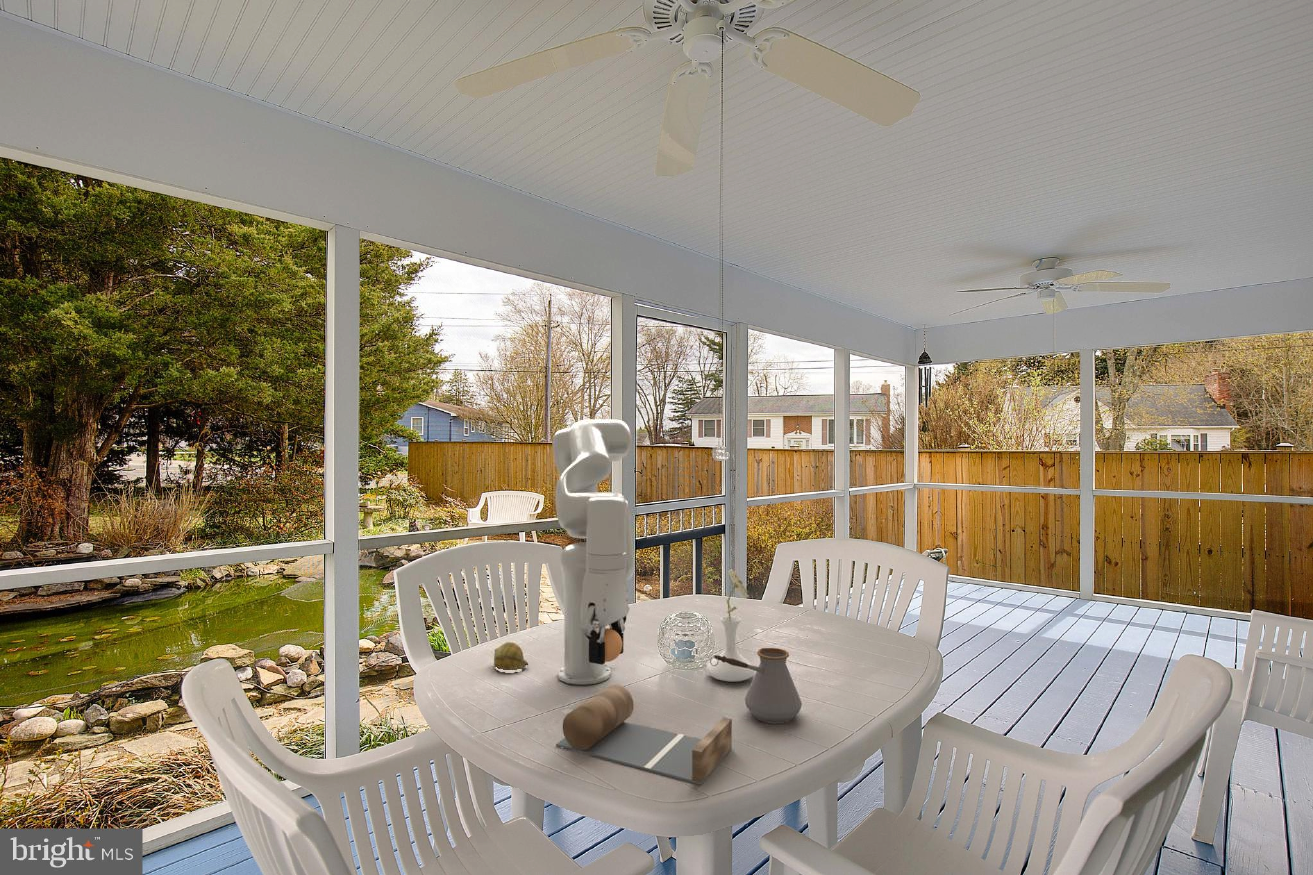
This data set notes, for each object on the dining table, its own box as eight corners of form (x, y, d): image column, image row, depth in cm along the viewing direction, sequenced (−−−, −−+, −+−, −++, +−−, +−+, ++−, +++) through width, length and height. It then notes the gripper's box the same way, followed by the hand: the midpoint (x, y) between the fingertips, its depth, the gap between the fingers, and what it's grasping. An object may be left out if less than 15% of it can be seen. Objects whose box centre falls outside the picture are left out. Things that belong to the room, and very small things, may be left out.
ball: (601, 653, 126) (601, 623, 126) (628, 658, 123) (628, 627, 123) (584, 663, 121) (584, 630, 121) (611, 668, 118) (611, 635, 118)
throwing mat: (596, 717, 132) (596, 714, 132) (731, 748, 118) (731, 745, 118) (555, 746, 119) (555, 743, 119) (701, 785, 106) (701, 781, 106)
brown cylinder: (603, 716, 131) (603, 681, 131) (633, 723, 128) (633, 687, 128) (562, 745, 118) (562, 707, 118) (594, 754, 115) (595, 714, 115)
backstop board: (723, 744, 119) (723, 717, 119) (731, 746, 118) (731, 718, 118) (692, 780, 107) (692, 749, 107) (701, 782, 106) (701, 751, 106)
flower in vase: (753, 688, 147) (753, 577, 147) (703, 684, 149) (703, 575, 149) (756, 668, 160) (756, 566, 160) (710, 664, 162) (710, 564, 162)
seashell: (524, 685, 159) (537, 654, 164) (516, 675, 154) (530, 644, 158) (489, 674, 162) (503, 644, 166) (480, 664, 156) (495, 633, 161)
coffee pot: (774, 699, 140) (774, 630, 140) (813, 719, 131) (814, 644, 131) (694, 723, 129) (694, 647, 129) (731, 746, 119) (731, 664, 119)
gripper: (613, 553, 132) (613, 642, 131) (563, 567, 116) (563, 668, 116) (645, 556, 128) (645, 647, 128) (598, 571, 113) (598, 675, 113)
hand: (606, 656), depth 122 cm, fingers closed on ball, 5 cm apart
